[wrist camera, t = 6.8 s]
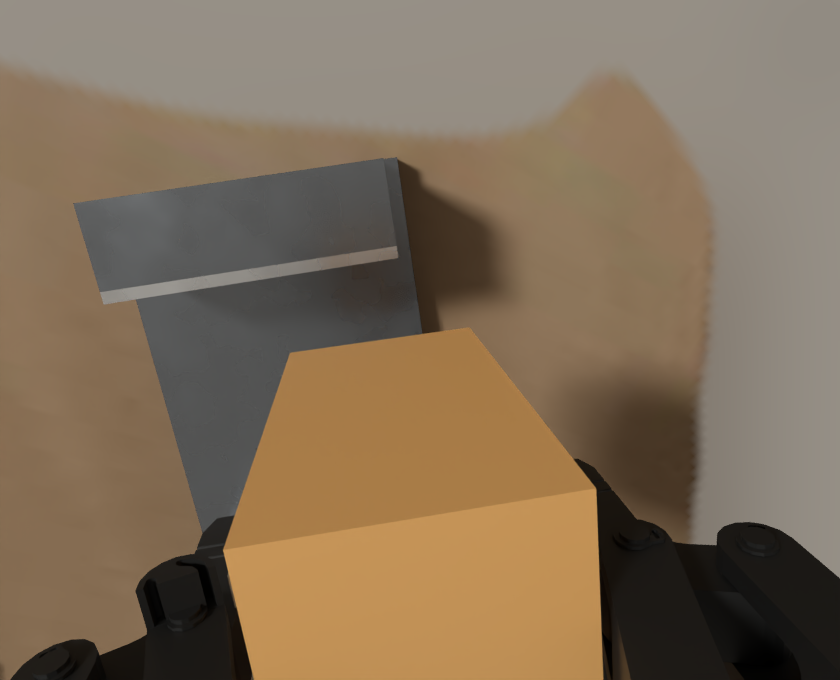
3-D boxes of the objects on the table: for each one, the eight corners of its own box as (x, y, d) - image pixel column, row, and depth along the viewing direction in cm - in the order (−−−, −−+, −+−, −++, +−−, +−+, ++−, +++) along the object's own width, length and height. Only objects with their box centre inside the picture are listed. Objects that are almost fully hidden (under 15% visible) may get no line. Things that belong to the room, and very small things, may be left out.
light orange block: (489, 542, 19) (609, 857, 10) (329, 570, 18) (311, 921, 10) (469, 327, 17) (596, 488, 8) (289, 352, 16) (223, 549, 8)
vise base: (459, 602, 39) (484, 699, 32) (243, 644, 38) (219, 755, 31) (394, 157, 31) (408, 154, 24) (118, 197, 30) (46, 207, 23)
